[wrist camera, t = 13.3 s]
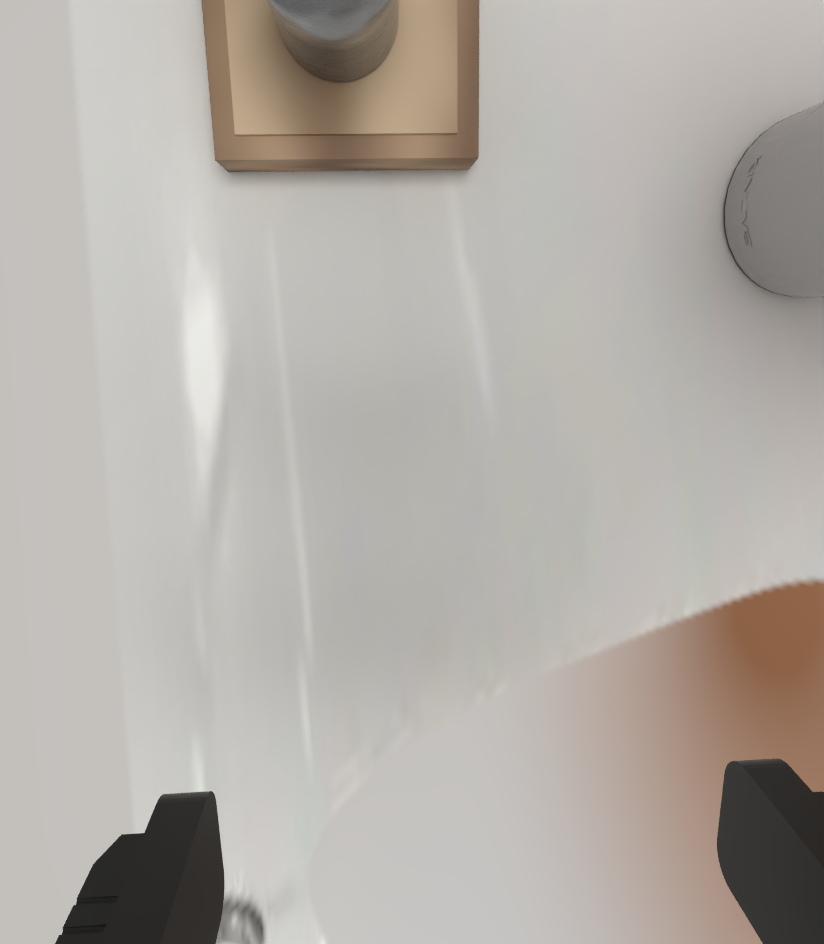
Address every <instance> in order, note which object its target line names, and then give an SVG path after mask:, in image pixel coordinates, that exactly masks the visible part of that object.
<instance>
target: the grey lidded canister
mask: <svg viewBox="0 0 824 944" xmlns="http://www.w3.org/2000/svg"><path fill="white" fill-rule="evenodd" d="M267 2H268V4H269V7H270V9H271V11H272V14H273V16H274V19H275V21H276V24H277V26H278V29H279V31H280V34H281V36H282V38H283V41H284V43H285V45H286V47H287V49H288V51H289V53H290V54H291V55H292V57H293V58H294V59H295V61H296V62H297V63H298V64H299V65H300V66H301V67H302V68H304V69H305V70H306V71H307V72H309V73H311V74H312V75H314V76H316V77H318V78H320V79H323V80H327V81H332V82H349V81H354V80H357V79H360V78H362V77H364V76H366V75H368V74H369V73H371V72H373V71H374V70H375V69H376V68H377V67H378V66H379V65H380V64H381V63H382V62H383V61H384V60H385V58H386V57H387V55H388V54H389V52H390V50H391V48H392V46H393V44H394V41H395V38H396V34H397V29H398V20H399V0H267Z"/></svg>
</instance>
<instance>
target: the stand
mask: <svg viewBox="0 0 824 944" xmlns="http://www.w3.org/2000/svg"><path fill="white" fill-rule="evenodd" d="M202 10H203V22H204V34H205V45H206V57H207V69H208V80H209V92H210V104H211V115H212V127H213V139H214V150H215V160H216V161H217V162H218V163H219V164H220V165H221V166H223V167H224V168H225V169H226V170H227V171H228V172H240V171H338V170H437V169H470V167H471V166H472V165H473V164H474V162H475V161H476V160H477V159H478V129H479V0H399V20H398V29H397V34H396V38H395V41H394V44H393V46H392V48H391V50H390V52H389V54H388V55H387V57H386V58H385V60H384V61H383V62H382V63H381V64H380V65H379V66H378V67H377V68H376V69H375V70H374V71H373V72H371V73H369V74H368V75H366V76H364V77H362V78H360V79H357V80H354V81H349V82H332V81H327V80H323V79H320V78H318V77H316V76H314V75H312V74H311V73H309V72H307V71H306V70H305V69H304V68H302V67H301V66H300V65H299V64H298V63H297V62H296V61H295V59H294V58H293V57H292V55H291V54H290V53H289V51H288V49H287V47H286V45H285V43H284V41H283V38H282V36H281V34H280V31H279V29H278V26H277V24H276V21H275V19H274V16H273V14H272V11H271V9H270V7H269V4H268V2H267V0H202Z"/></svg>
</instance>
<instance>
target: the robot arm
mask: <svg viewBox="0 0 824 944" xmlns="http://www.w3.org/2000/svg"><path fill="white" fill-rule="evenodd" d="M725 229H726V234H727V238H728V243H729V247H730V249H731V251H732V253H733V255H734V258H735V260H736V262H737V263H738V265H739V266H740V267H741V268H742V270H743V271H744V272H745V274H746V275H747V276H748V277H749V278H751V279H752V280H753V281H754V282H755V283H757V284H758V285H759V286H761V287H763V288H765V289H767V290H769V291H772V292H774V293H777V294H782V295H787V296H800V297H824V102H823V103H821V104H818V105H816V106H813V107H811V108H809V109H806V110H804V111H802V112H799V113H797V114H795V115H793V116H790V117H788V118H786V119H784V120H782V121H780V122H778V123H776V124H775V125H774V126H772V127H771V128H770V129H768V130H767V131H766V132H764V133H763V134H762V135H760V137H759V138H758V139H757V140H756V141H755V142H754V143H753V144H752V145H751V147H750V148H749V149H748V150H747V151H746V153H745V155H744V156H743V158H742V159H741V161H740V163H739V164H738V166H737V168H736V170H735V172H734V175H733V178H732V180H731V183H730V185H729V188H728V194H727V199H726V204H725ZM717 850H718V857H719V862H720V867H721V870H722V873H723V876H724V878H725V881H726V883H727V885H728V887H729V889H730V890H731V892H732V893H733V895H734V897H735V899H736V900H737V902H738V903H739V905H740V907H741V908H742V910H743V912H744V913H745V915H746V917H747V918H748V920H749V921H750V923H751V925H752V926H753V928H754V930H755V931H756V933H757V935H758V936H759V938H760V940H761V941H762V943H763V944H824V792H812V791H811V790H810V788H808V786H807V785H806V784H805V783H804V782H803V781H802V780H801V779H800V777H799V776H798V775H797V774H796V773H795V772H794V771H793V770H792V768H791V767H790V766H789V765H788V764H787V763H786V762H784V761H783V760H781V759H761V760H745V761H732V762H730V763H729V764H728V765H727V767H726V770H725V774H724V784H723V793H722V802H721V810H720V819H719V828H718V837H717ZM223 899H224V869H223V860H222V851H221V842H220V833H219V823H218V814H217V805H216V799H215V795H214V793H213V792H212V791H209V792H193V793H177V794H163V795H162V796H161V797H160V798H159V800H158V802H157V804H156V806H155V809H154V811H153V814H152V816H151V818H150V821H149V823H148V826H147V828H146V830H145V833H141V834H126V835H121V836H120V837H119V838H118V839H117V840H116V841H115V842H114V843H113V844H112V845H111V846H110V847H109V848H108V850H107V851H106V852H105V853H104V854H103V855H102V856H101V857H100V858H99V859H98V860H97V861H96V862H95V863H94V864H93V866H92V868H91V870H90V872H89V875H88V877H87V878H86V881H85V883H84V885H83V887H82V889H81V891H80V893H79V895H78V897H77V903H76V905H74V906H73V908H72V910H71V912H70V914H69V916H68V918H67V920H66V922H65V924H64V927H63V933H62V935H59V937H58V939H57V941H56V943H55V944H215V943H216V939H217V934H218V930H219V926H220V921H221V916H222V909H223Z"/></svg>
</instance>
